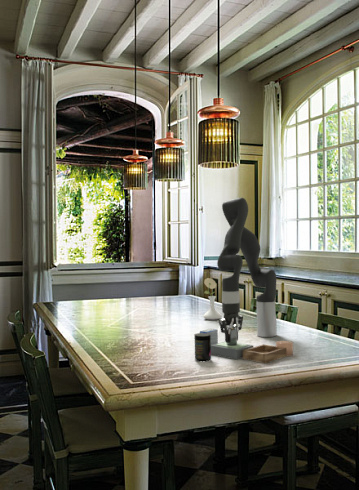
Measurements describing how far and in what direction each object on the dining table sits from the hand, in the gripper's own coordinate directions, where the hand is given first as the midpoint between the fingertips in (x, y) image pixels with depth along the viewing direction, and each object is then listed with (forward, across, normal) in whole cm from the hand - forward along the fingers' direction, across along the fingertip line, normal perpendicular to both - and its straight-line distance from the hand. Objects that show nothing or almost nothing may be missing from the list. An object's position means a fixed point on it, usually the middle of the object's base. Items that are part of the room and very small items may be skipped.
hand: (231, 341), depth 215 cm
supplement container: (+6, +15, -3) cm, 16 cm away
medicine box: (+6, -1, -14) cm, 15 cm away
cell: (+1, 0, 0) cm, 1 cm away
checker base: (+5, 0, 0) cm, 5 cm away
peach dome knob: (+5, -14, +17) cm, 23 cm away
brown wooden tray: (+5, -4, +14) cm, 16 cm away
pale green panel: (+3, 0, 0) cm, 3 cm away
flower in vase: (+6, -63, -67) cm, 92 cm away
